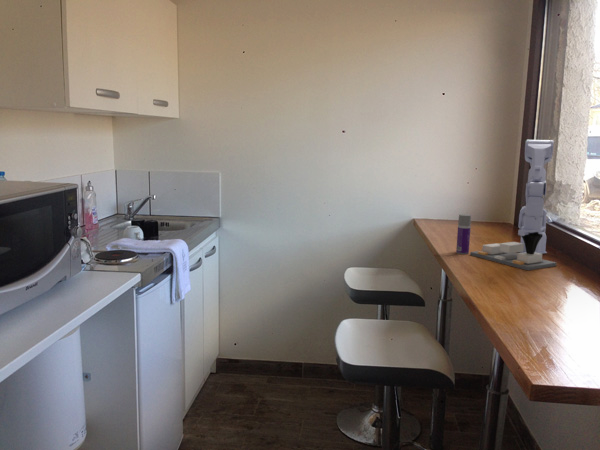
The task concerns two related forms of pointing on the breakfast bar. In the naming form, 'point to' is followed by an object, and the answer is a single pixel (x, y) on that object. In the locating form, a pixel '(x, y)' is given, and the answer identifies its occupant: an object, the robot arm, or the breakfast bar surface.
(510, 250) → the button
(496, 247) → the button
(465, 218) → the container
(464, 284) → the breakfast bar surface
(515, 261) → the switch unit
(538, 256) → the button
